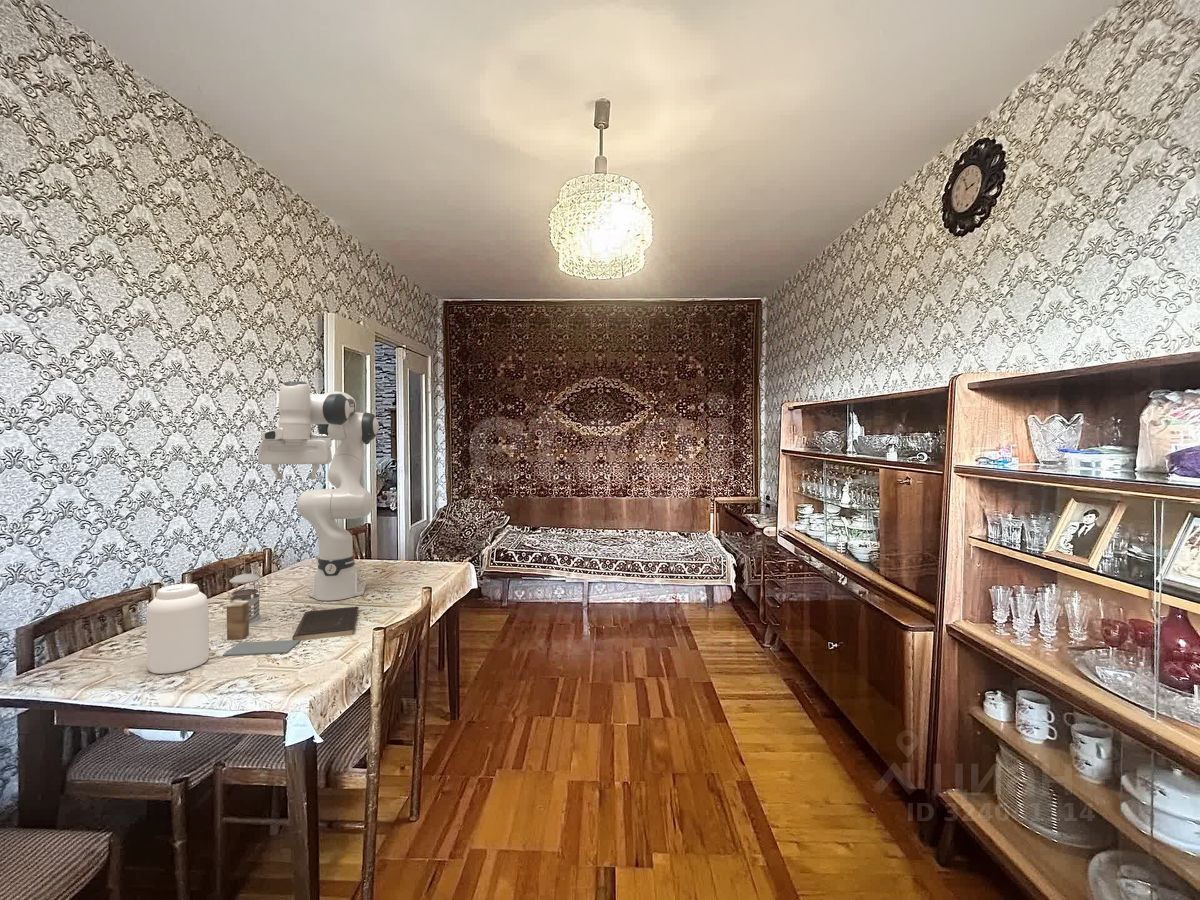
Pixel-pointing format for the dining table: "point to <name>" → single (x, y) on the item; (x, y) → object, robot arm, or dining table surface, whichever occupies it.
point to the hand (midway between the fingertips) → (295, 479)
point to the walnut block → (237, 620)
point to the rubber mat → (262, 647)
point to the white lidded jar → (177, 629)
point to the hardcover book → (326, 623)
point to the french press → (248, 593)
